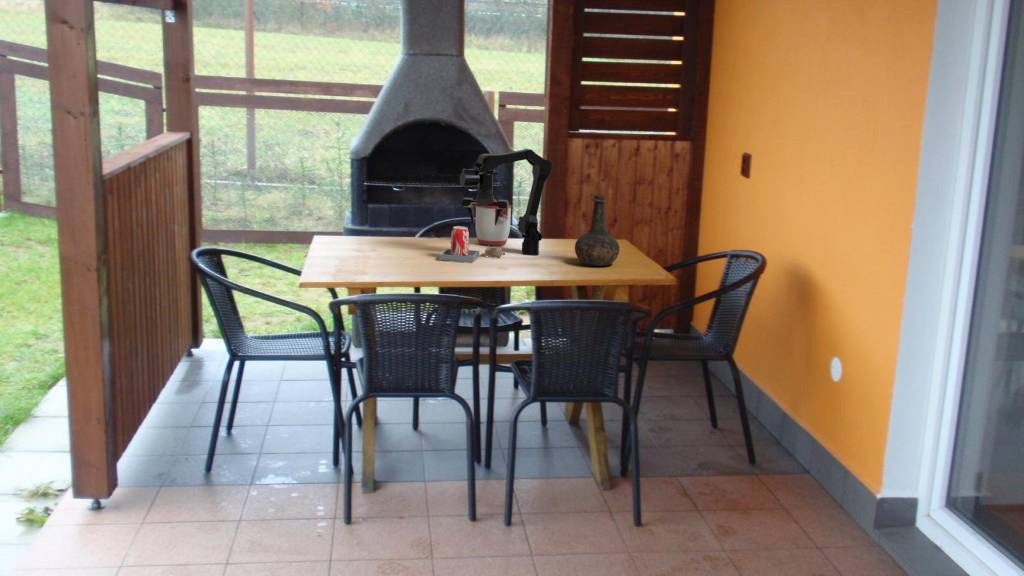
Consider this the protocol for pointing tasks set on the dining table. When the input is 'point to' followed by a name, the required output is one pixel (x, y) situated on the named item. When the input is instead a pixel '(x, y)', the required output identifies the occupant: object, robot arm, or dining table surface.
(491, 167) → the robot arm
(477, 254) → the slate tray
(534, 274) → the dining table surface
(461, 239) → the soda can
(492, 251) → the brown block with knob
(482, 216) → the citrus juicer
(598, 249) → the glass bottle
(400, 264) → the dining table surface
